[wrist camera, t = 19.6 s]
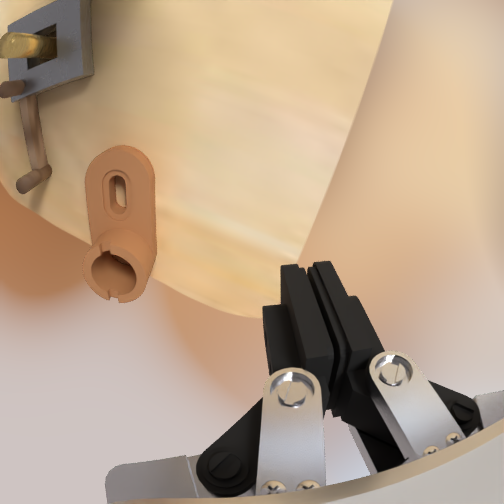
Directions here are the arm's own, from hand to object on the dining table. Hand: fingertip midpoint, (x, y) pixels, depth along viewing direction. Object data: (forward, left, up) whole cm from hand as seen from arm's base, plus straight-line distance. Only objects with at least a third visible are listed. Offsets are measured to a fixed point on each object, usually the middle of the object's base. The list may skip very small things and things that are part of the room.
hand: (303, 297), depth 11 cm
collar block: (-17, -23, -27) cm, 39 cm away
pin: (-17, -23, -27) cm, 39 cm away
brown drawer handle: (-7, -27, -27) cm, 39 cm away
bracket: (+7, -17, -28) cm, 33 cm away
